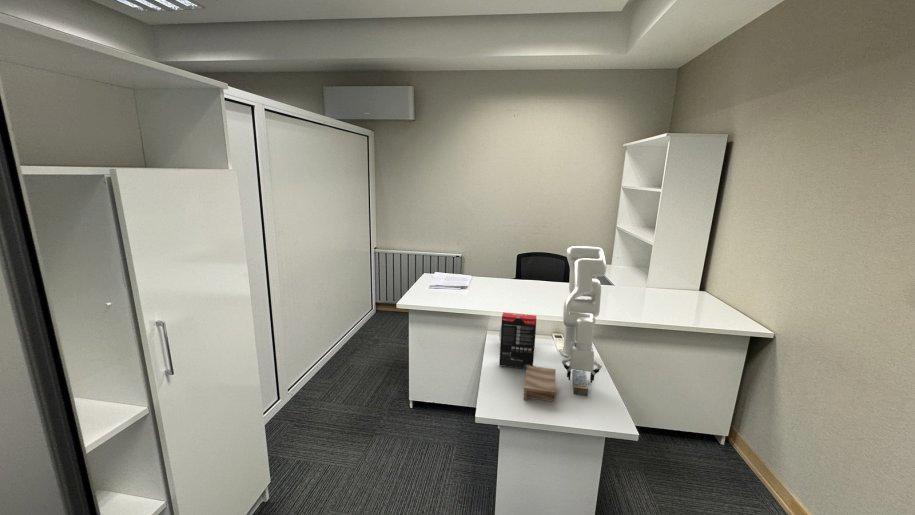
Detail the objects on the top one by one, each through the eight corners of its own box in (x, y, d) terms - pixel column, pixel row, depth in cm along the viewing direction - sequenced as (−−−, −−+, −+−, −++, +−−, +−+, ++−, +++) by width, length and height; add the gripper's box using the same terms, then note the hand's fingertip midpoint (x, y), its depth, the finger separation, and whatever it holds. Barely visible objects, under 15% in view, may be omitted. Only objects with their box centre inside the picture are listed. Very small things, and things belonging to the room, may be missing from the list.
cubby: (526, 377, 179) (527, 365, 178) (554, 381, 176) (555, 369, 174) (523, 400, 160) (524, 387, 159) (554, 405, 157) (555, 392, 155)
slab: (571, 376, 180) (572, 369, 180) (584, 378, 179) (585, 371, 178) (573, 394, 165) (573, 387, 164) (587, 396, 164) (588, 389, 163)
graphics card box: (533, 364, 191) (536, 313, 186) (533, 370, 185) (536, 318, 179) (500, 360, 195) (502, 311, 189) (498, 367, 188) (501, 315, 182)
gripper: (563, 345, 166) (560, 381, 169) (604, 350, 162) (601, 387, 165) (563, 339, 173) (560, 373, 176) (602, 344, 169) (599, 378, 172)
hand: (580, 380), depth 171 cm, fingers open, 9 cm apart
